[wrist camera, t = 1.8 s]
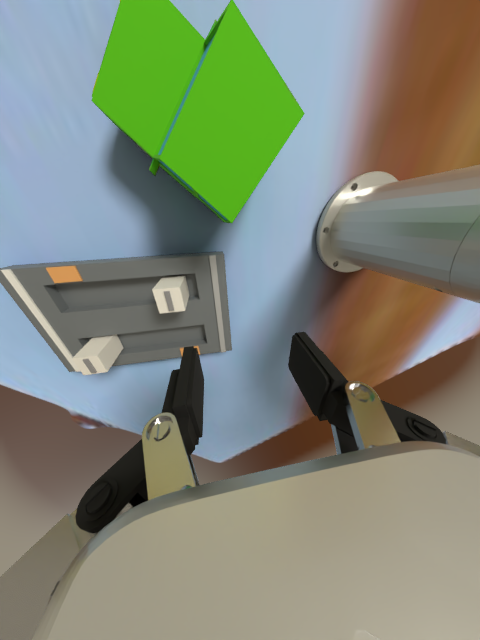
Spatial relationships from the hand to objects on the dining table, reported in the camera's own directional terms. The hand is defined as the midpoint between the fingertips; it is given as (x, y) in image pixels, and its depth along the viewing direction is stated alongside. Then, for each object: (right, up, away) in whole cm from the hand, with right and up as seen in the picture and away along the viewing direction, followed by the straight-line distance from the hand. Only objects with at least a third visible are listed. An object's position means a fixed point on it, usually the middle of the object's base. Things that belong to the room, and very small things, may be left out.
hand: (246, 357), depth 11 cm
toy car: (-5, +22, +7) cm, 23 cm away
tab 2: (-9, +7, +13) cm, 18 cm away
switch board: (-15, +4, +16) cm, 22 cm away
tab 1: (-21, -1, +16) cm, 26 cm away
